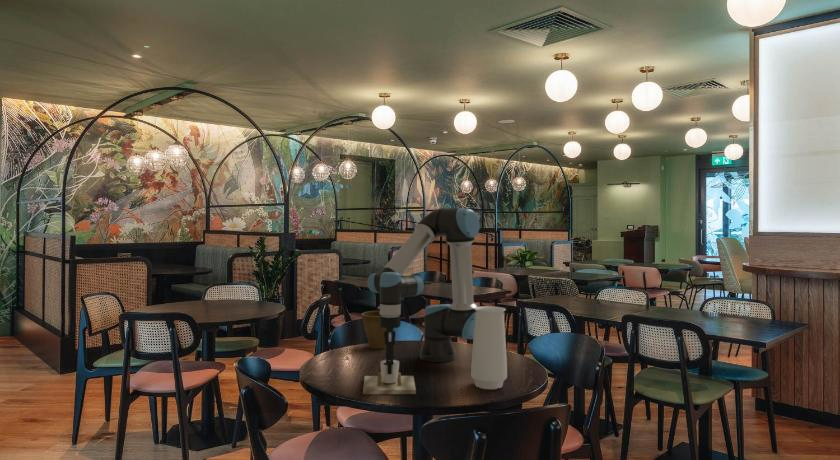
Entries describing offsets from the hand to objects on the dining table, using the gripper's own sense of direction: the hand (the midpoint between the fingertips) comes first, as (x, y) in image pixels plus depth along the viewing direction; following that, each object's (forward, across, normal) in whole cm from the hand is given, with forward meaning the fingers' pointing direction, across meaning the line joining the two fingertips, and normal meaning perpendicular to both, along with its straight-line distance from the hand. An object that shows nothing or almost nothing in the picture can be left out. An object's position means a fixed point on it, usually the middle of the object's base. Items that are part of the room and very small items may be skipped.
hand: (389, 379), depth 212 cm
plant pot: (+3, -64, -5) cm, 64 cm away
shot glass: (+1, 0, 0) cm, 1 cm away
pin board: (+3, 0, 0) cm, 3 cm away
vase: (+3, -1, +36) cm, 36 cm away
